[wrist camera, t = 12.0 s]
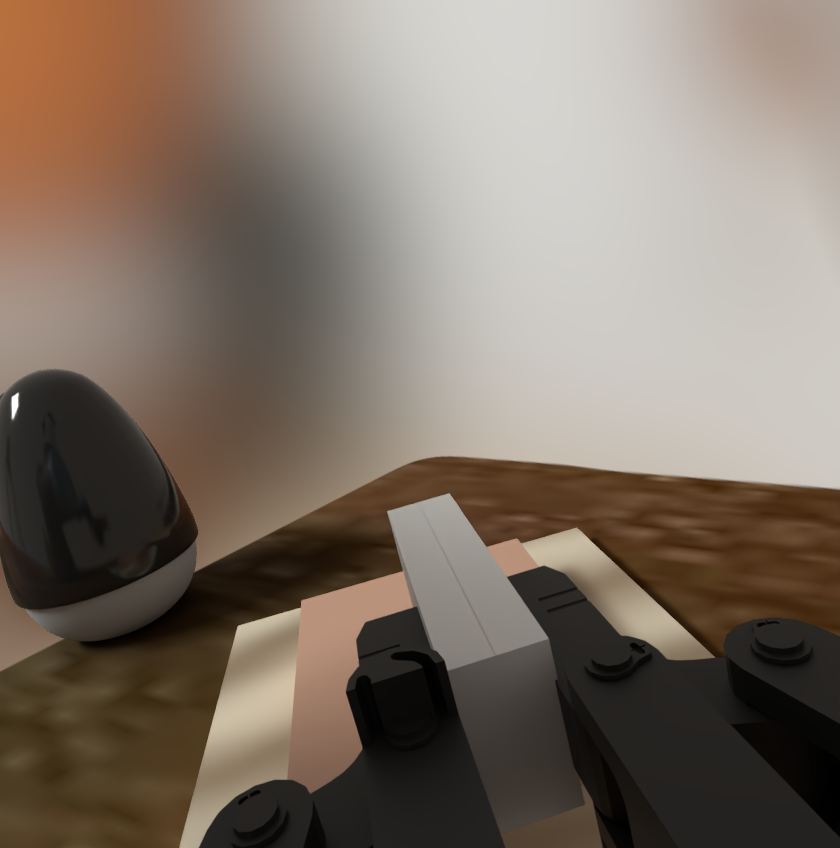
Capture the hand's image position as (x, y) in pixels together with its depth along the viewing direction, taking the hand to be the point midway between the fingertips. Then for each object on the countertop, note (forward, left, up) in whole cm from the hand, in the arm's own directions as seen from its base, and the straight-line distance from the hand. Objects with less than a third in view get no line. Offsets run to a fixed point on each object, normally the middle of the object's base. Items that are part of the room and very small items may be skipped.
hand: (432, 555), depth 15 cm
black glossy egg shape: (-24, +17, -9) cm, 31 cm away
